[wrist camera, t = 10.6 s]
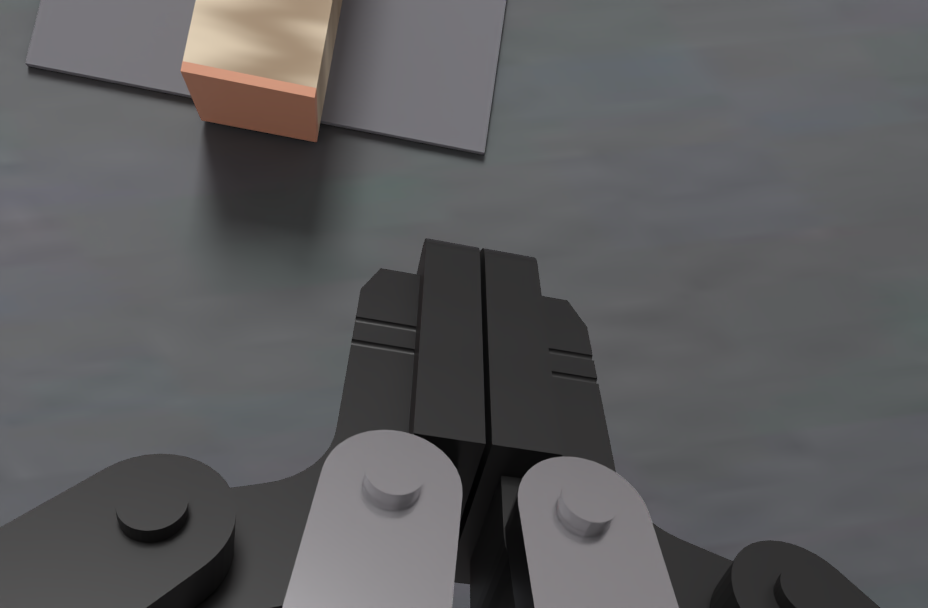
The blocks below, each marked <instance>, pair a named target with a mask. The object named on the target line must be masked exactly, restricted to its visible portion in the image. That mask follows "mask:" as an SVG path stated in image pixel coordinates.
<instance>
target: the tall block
mask: <svg viewBox="0 0 928 608" xmlns="http://www.w3.org/2000/svg"><path fill="white" fill-rule="evenodd" d="M341 6H342V0H196V1H195V6H194V10H193V15H192V20H191V24H190V29H189V33H188V38H187V43H186V47H185V52H184V57H183V61H182V66H181V74H182V76H183V78H184V81H185V83H186V85H187V88H188V90H189V92H190V95H191V97H192V99H193V102H194V104H195V106H196V109H197V111H198V114H199V116H200V118H201V120H202V121H207V122H213V123H218V124H223V125H228V126H234V127H239V128H244V129H249V130H254V131H260V132H265V133H270V134H275V135H281V136H286V137H291V138H296V139H301V140H307V141H312V142H317V138H318V133H319V127H320V122H321V116H322V111H323V105H324V100H325V94H326V89H327V83H328V77H329V72H330V66H331V61H332V55H333V50H334V44H335V39H336V33H337V28H338V22H339V17H340V11H341Z"/></svg>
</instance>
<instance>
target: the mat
mask: <svg viewBox="0 0 928 608" xmlns="http://www.w3.org/2000/svg"><path fill="white" fill-rule="evenodd" d="M195 1H196V0H41V1H40V5H39V9H38V13H37V17H36V21H35V25H34V29H33V33H32V37H31V41H30V45H29V49H28V53H27V57H26V61H25V64H26V65H27V66H30V67H35V68H40V69H45V70H50V71H55V72H61V73H66V74H71V75H76V76H81V77H86V78H91V79H96V80H102V81H107V82H112V83H117V84H122V85H127V86H132V87H138V88H143V89H148V90H153V91H158V92H163V93H168V94H173V95H179V96H184V97H189V98H192V97H191V95H190V92H189V90H188V88H187V85H186V83H185V81H184V78H183V76H182V74H181V66H182V61H183V57H184V52H185V47H186V43H187V38H188V33H189V29H190V24H191V20H192V15H193V10H194V6H195ZM505 6H506V0H342V6H341V11H340V17H339V22H338V28H337V33H336V39H335V44H334V50H333V55H332V61H331V66H330V72H329V77H328V83H327V89H326V94H325V100H324V105H323V111H322V116H321V122H320V123H322V124H327V125H333V126H338V127H343V128H348V129H353V130H358V131H363V132H369V133H374V134H379V135H384V136H389V137H394V138H399V139H404V140H410V141H415V142H420V143H425V144H430V145H435V146H440V147H446V148H451V149H456V150H461V151H466V152H471V153H476V154H482V155H483V154H484V153H485V146H486V139H487V132H488V125H489V118H490V111H491V104H492V97H493V90H494V83H495V76H496V69H497V62H498V55H499V48H500V41H501V34H502V27H503V20H504V13H505Z"/></svg>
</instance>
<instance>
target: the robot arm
mask: <svg viewBox="0 0 928 608" xmlns="http://www.w3.org/2000/svg"><path fill="white" fill-rule="evenodd" d="M596 381H597V375H596V370H595V365H594V361H593V360H592V350H591V345H590V340H589V335H588V330H587V326H586V325H585V324H584V322H583V321H582V320H581V318H580V317H579V316H578V314H577V313H576V312H575V310H574V309H573V307H572V306H571V305H570V303H569V302H568V301H567V300H562V299H556V298H550V297H545V296H542V295H541V288H540V280H539V273H538V265H537V260H536V258H534V257H529V256H523V255H518V254H512V253H506V252H501V251H495V250H490V249H484V248H482V249H481V251H480V250H479V248H477V247H472V246H466V245H461V244H455V243H449V242H444V241H438V240H433V239H427V238H426V239H425V241H424V245H423V248H422V253H421V257H420V262H419V266H418V271H417V275H416V274H411V273H405V272H399V271H393V270H388V269H382V268H381V269H380V270H379V271H378V272H377V273H376V274H375V275H374V276H373V277H372V278H371V279H370V280H369V281H368V282H367V283H366V284H365V285H364V286H363V287H362V288H361V291H360V297H359V303H358V308H357V314H356V320H355V326H354V331H353V337H352V343H351V348H350V354H349V360H348V366H347V371H346V377H345V383H344V389H343V394H342V400H341V406H340V411H339V417H338V423H337V429H336V433H335V436H334V439H333V441H332V443H331V445H330V447H329V449H328V450H327V451H326V453H325V454H324V455H323V456H322V457H321V458H320V459H319V460H318V461H317V462H316V463H315V464H313V465H312V466H310V467H309V468H307V469H306V470H304V471H302V472H300V473H298V474H296V475H294V476H292V477H288V478H285V479H282V480H279V481H274V482H269V483H263V484H255V485H248V486H241V487H233V488H230V487H229V486H228V484H227V482H226V481H225V480H224V479H223V478H222V477H221V475H220V474H219V473H217V472H216V471H215V470H213V469H212V468H211V467H209V466H207V465H205V464H204V463H202V462H200V461H197V460H194V459H191V458H188V457H184V456H179V455H172V454H152V455H143V456H138V457H133V458H130V459H127V460H124V461H121V462H118V463H116V464H114V465H112V466H109V467H107V468H105V469H104V470H102V471H100V472H98V473H96V474H95V475H93V476H91V477H89V478H87V479H86V480H84V481H82V482H80V483H79V484H77V485H75V486H73V487H71V488H70V489H68V490H66V491H64V492H63V493H61V494H59V495H57V496H55V497H54V498H52V499H50V500H48V501H46V502H45V503H43V504H41V505H39V506H38V507H36V508H34V509H32V510H30V511H29V512H27V513H25V514H23V515H22V516H20V517H18V518H16V519H14V520H13V521H11V522H9V523H7V524H6V525H4V526H2V527H0V608H452V601H453V590H454V582H456V583H464V584H470V608H880V607H879V606H878V605H876V604H875V603H874V602H873V601H872V600H871V599H870V598H869V597H867V596H866V595H865V594H864V593H863V592H862V591H861V590H859V589H858V588H857V587H856V586H855V585H854V584H853V583H852V582H850V581H849V580H848V579H847V578H846V577H845V576H844V575H842V574H841V573H840V572H839V571H838V570H837V569H835V568H834V567H833V566H832V565H830V564H829V563H828V562H827V561H825V560H823V559H822V558H820V557H819V556H817V555H816V554H814V553H812V552H810V551H808V550H806V549H804V548H801V547H799V546H796V545H793V544H790V543H785V542H781V541H771V540H770V541H759V542H756V543H752V544H750V545H748V546H747V547H745V548H744V549H743V550H741V551H740V552H739V553H738V555H737V556H736V558H735V559H734V561H731V560H728V559H726V558H724V557H721V556H719V555H716V554H714V553H712V552H709V551H707V550H705V549H702V548H700V547H698V546H695V545H693V544H690V543H688V542H686V541H683V540H681V539H679V538H677V537H675V536H673V535H671V534H669V533H667V532H665V531H664V530H662V529H661V528H659V527H657V526H656V525H655V524H653V523H652V520H651V517H650V514H649V512H648V509H647V507H646V504H645V503H644V501H643V500H642V498H641V496H640V495H639V494H638V492H637V491H636V490H635V489H634V488H633V486H632V485H630V484H629V483H628V482H627V481H626V480H625V479H624V478H623V477H621V476H620V475H619V474H617V473H616V471H615V466H614V460H613V455H612V450H611V445H610V440H609V435H608V430H607V425H606V420H605V415H604V410H603V405H602V400H601V395H600V390H599V385H598V384H596Z"/></svg>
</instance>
